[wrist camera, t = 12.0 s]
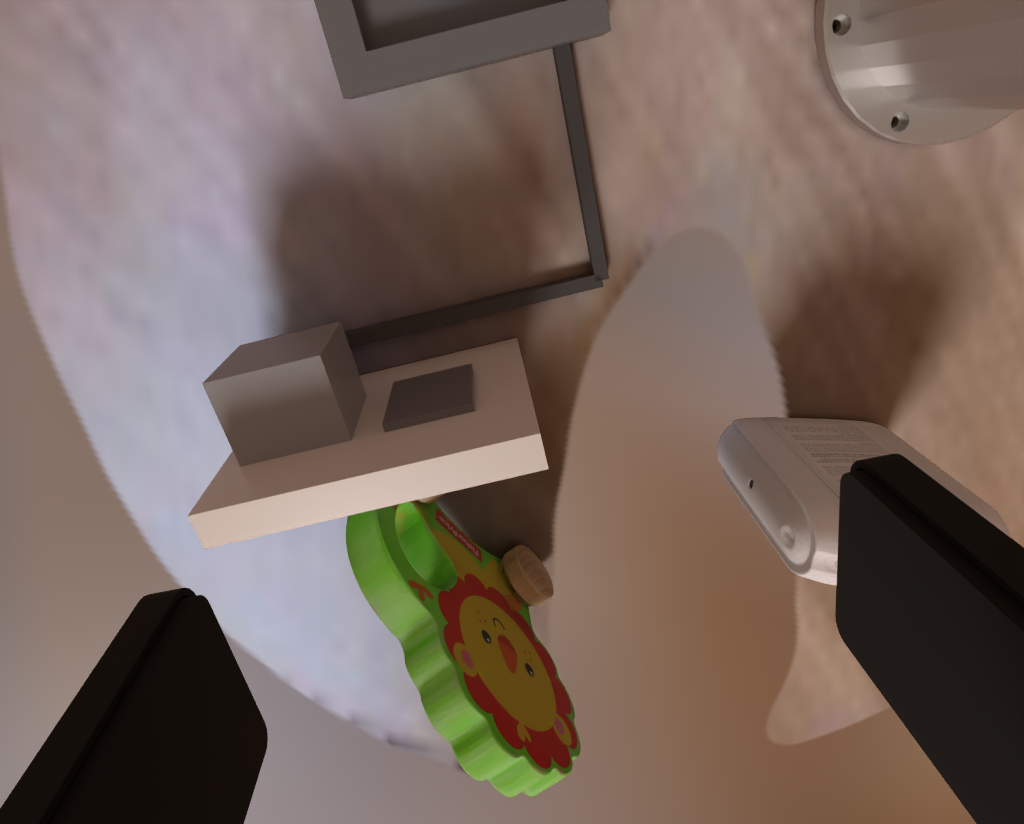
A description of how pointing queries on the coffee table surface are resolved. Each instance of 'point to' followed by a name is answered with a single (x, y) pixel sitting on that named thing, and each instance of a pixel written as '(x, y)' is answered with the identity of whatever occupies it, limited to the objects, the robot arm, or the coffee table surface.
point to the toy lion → (469, 642)
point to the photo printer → (812, 481)
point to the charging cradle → (445, 36)
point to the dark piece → (540, 291)
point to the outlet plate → (358, 431)
